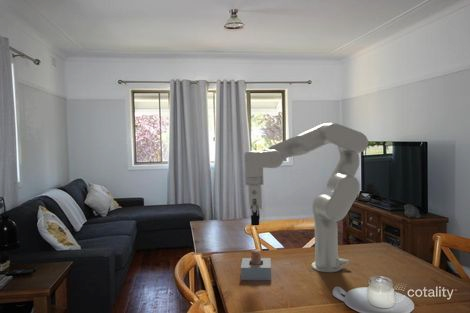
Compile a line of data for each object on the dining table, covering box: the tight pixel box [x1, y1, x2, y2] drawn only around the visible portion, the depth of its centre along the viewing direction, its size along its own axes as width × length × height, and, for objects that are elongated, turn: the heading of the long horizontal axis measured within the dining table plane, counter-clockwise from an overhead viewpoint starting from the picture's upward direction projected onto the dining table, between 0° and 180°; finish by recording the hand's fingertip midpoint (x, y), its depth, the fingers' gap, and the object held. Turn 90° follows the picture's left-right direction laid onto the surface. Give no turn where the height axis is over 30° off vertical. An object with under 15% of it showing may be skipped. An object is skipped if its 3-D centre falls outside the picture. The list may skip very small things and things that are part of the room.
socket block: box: [240, 257, 272, 281], centre depth 159 cm, size 12×12×5 cm
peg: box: [250, 249, 262, 265], centre depth 159 cm, size 4×4×10 cm
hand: (255, 222), depth 158 cm, fingers open, 9 cm apart
